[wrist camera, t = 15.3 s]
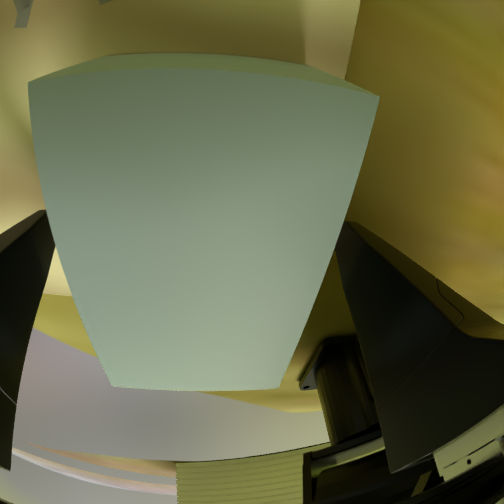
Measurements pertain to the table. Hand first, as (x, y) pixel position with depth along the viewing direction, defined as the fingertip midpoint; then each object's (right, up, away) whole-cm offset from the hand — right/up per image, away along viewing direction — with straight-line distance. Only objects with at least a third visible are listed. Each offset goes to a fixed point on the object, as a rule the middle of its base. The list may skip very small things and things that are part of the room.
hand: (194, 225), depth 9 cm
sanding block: (0, +1, +1) cm, 2 cm away
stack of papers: (+7, -33, +33) cm, 47 cm away
